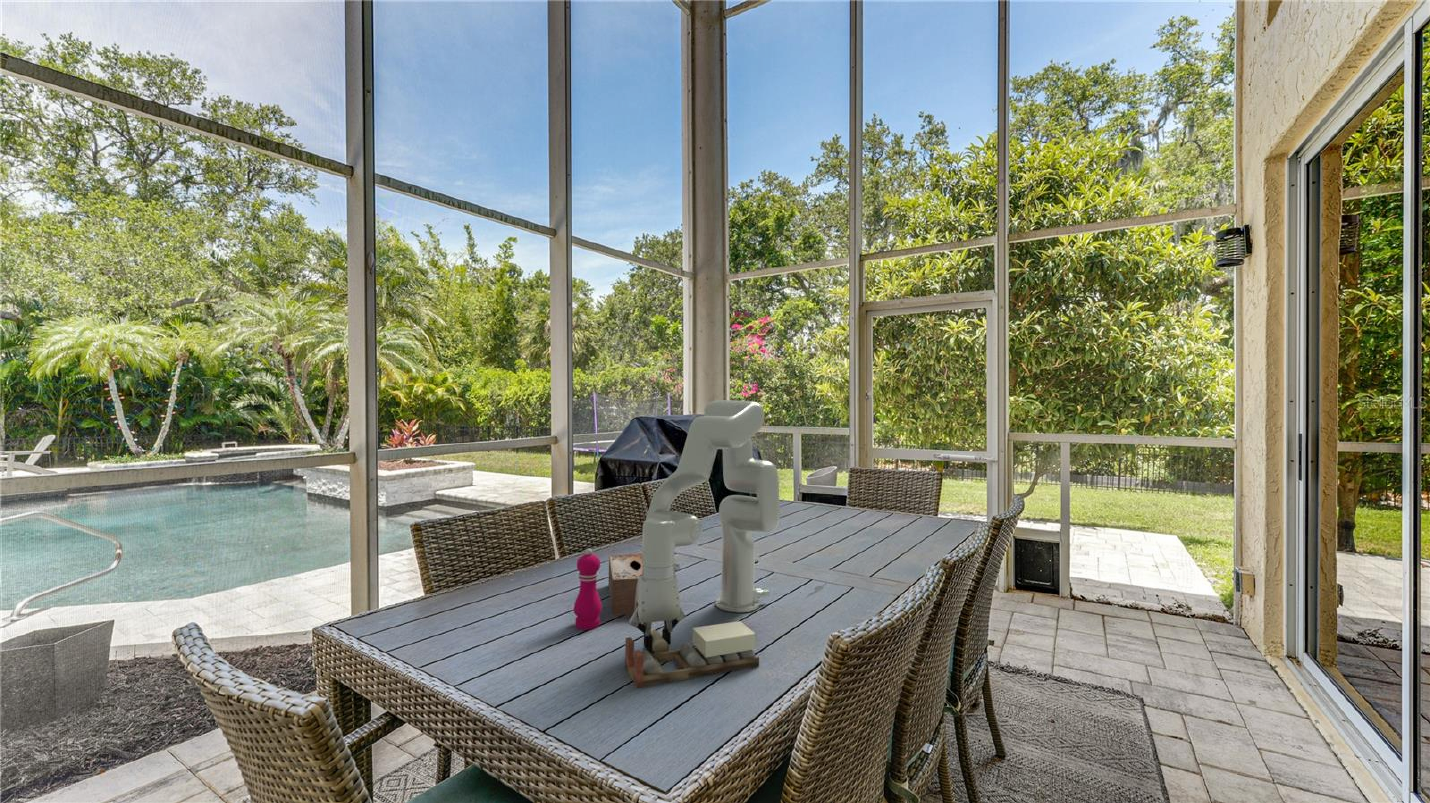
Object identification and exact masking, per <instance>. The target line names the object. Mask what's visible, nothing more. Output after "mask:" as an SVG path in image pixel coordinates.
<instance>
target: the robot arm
mask: <svg viewBox="0 0 1430 803" xmlns="http://www.w3.org/2000/svg"><path fill="white" fill-rule="evenodd" d="M703 413H704V415H701V416H698V417H696V418H694V419H693V420H692V422H691V424H690V426H689V430H688V433H687V436H686V439H685V442H684V446H683V449H682V453H681V456H680V459H679V463H678V466H677V468H676V470H675V471H674V472H672V473H671V474H670V475H669V476H668V477H667V478H666V479H665V480H664V481H663V482H662V483H661V484H660V485H659V487H658V488H657V489H656V490H655V492H654V494H653V496H652V498H651V501H650V504H649V508H648V511H647V515H646V518H645V520H644V522H643V524H642V546H641V547H642V553H641V554H642V576H640V577H639V578H638V582H637V588H636V596H635V607H634V613H633V614H631V617H630V619H629V621H628V623H629V625H630V626H631V627H633V628H636V629H638V630H639V631H640V632H642V634H643V648H644V649H645V650H647V651H648V652H649V653H650V654H652V652H653V650H652V635H651V632H650V631H652V630H651V629H652V625H653V624H652V623H658V622H663V625H664V627H663V628H662V631H661V632H662V634H661V636H662V637H663V639H664V640H665V641H666V642H667V643H668V645H669V646H670V645H671V642H672V641H671V640H672V633H673V630H674V628H675V627H676V626H677V625H678V624H679V622H681V621H683V620H684V619H685V618H686V615H685V612H684V610H683V609H682V607H681V601H680V589H679V588H680V587H679V582H678V577H677V575H676V572H677V571H680V570H681V566H680V564H676V563H675V549H676V547H677V548H678V547H686V546H691V545H693V544H695V543H696V542H698V541H699V539H700V537H701V535H702V533H703V525H702V522H701V520H700V519H699V518H698V517H697V516H696V515H693V514H689V513H684V512H683V513H682V512H677V511H671V510H670V508H671V506H672V504H673V501H675V499H676V498H677V497H678V496H679V495H680V494H682V493H683V492H685V491H686V490H689V489H691V488H693V487H695V486H696V487H697V486H698V485H700V484H703V483H706V482H707V481H708V480H709V479H710V477H711V474H712V470H713V466H714V463H715V459H716V456H717V452H718V450H722V467H723V468H722V469H723V470H722V472H723V482H724V486H725V487H726V489H728V490H730V491H732V492H733V491H734V492H739V493H747V494H756V496H755V497H754V496H749V495H742V494H731V495H728V496H725V497H724V498H723V499H722V500H721V502H720V503H719V508H718V515H719V516H718V517H719V523H720V528H721V574H720V575H721V576H720V577H721V579H720V582H721V583H720V585H721V586H720V596H718V597H717V598H716V599H715V606H716V608H718V609H720V610H722V611H726V612H731V613H749V612H752V611H755V610H757V609H758V608H760V598H765V597H766V598H767V597H770V590H769V589H763V590H762V589H761V588H755V570H756V569H755V567H756V566H755V565H756V564H755V562H756V544H755V540H754V537H753V535H752V533H751V532H755V533H762V534H770V533H773V532H774V531H775V530H776V529H777V528H778V525H779V521H780V479H779V478H780V477H779V473H778V469H777V467H776V466H775V464H774V463H773V462H771V461H769V460H763V459H755V458H754V455H753V454H754V453H753V443H752V438H753V437H754V436H755V435H756V434H757V433H758V432H760V430H761V428H762V426H763V425H764V423H765V422H764V421H765V411H764V409H763V407H762V405H761V404H760V403H759V402H756V401H752V400H751V401H750V400H730V399H729V400H727V399H726V400H724V399H723V400H722V399H721V400H713V401H710V402H708V403H707V404H706V405H705V406H704V412H703Z"/></svg>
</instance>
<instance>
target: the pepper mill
mask: <svg viewBox="0 0 1430 803" xmlns="http://www.w3.org/2000/svg"><path fill="white" fill-rule="evenodd" d="M584 552H585V554H583V555H581V556H580V557H579V558H578V559H577V562H576V569H577V570H578V571H579V573H578V580H579V583H580V584H579V585H580V586H579V591H578V595H577V597H576V599H575V601H574V605H573V613H574V615H575V617H576V618H575V619H574V620H575V623H574V624H575V627H576V628H577V629H579V630H594V629H596V628H598V627H599V626H600V624H601V617H600V614H601V612H602V610H603V603H602V601H601V598H600V594H599V592H598V589H597V581H598V579H599V570H600V568H601V560H600V558H599V557H598V556H597V555H595V554H593V550H592V548H586V549H585V551H584Z"/></svg>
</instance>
